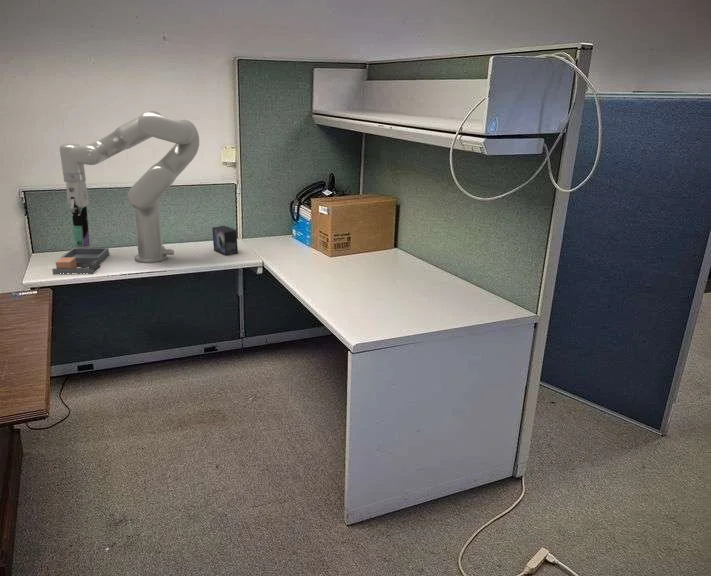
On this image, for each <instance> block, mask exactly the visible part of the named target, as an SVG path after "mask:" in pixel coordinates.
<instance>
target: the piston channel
mask: <svg viewBox="0 0 711 576" xmlns="http://www.w3.org/2000/svg"><path fill="white" fill-rule="evenodd" d="M76 264H77V267H89V268H61V269H57V268H52V269H51V270H52V275H53V274H59V275H68V274H67V273H71V274H70V275H73V274H72V273H78V274H77V275H94V274H95V273H96V272H97V271H98V270H99V269H100V268H101V264H100V262H99V261H98V260H94V261H93V262H76ZM98 268H99V269H98ZM97 269H98V270H97ZM96 270H97V271H96ZM95 271H96V272H95ZM94 272H95V273H94ZM60 273H61V274H60ZM63 273H64V274H63ZM80 273H82V274H80ZM83 273H85V274H83ZM86 273H88V274H86ZM93 273H94V274H93Z"/></svg>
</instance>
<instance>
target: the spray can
mask: <svg viewBox="0 0 711 576" xmlns="http://www.w3.org/2000/svg"><path fill="white" fill-rule="evenodd" d="M87 206H88V205H87ZM87 206H85V207H83V208H80V215H81V216H82V223H83V225H82V226H74V225H73V217H72V216H71V221H72V222H71V223H72V232H73V244H74V248H79V249H84V248H91V245H90V233H89V232H90V230H89V222H88V220H89V219H88V210H87V209H88V208H87ZM75 207H78V206H75ZM75 210H77V211H78V209H75ZM70 212H71V211H70ZM70 214H72V212H71V213H70Z"/></svg>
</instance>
